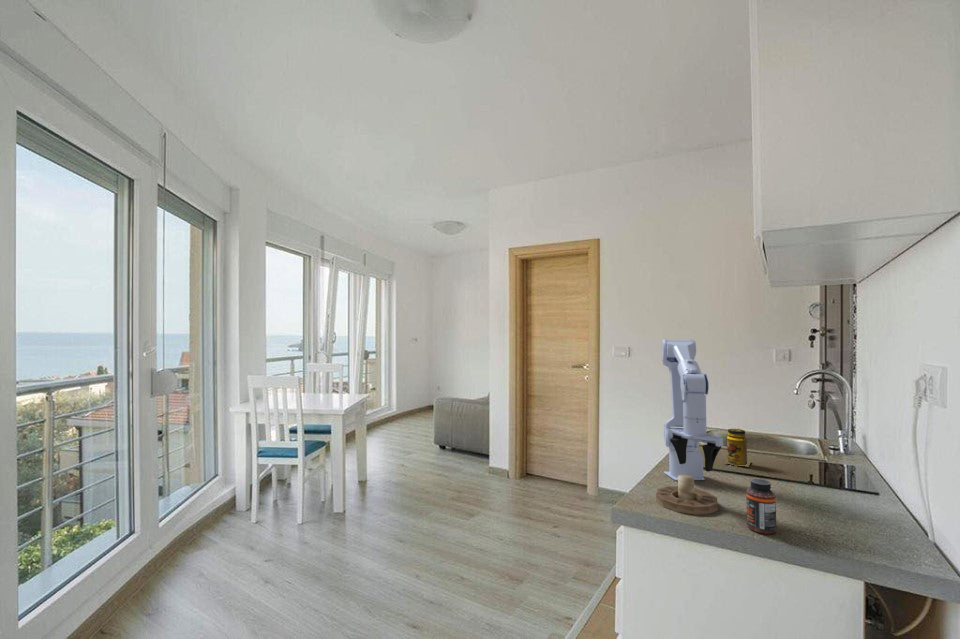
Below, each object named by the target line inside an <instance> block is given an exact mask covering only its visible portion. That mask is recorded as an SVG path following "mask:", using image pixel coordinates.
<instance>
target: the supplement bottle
mask: <svg viewBox="0 0 960 639" xmlns="http://www.w3.org/2000/svg"><path fill="white" fill-rule="evenodd" d="M771 484H772V483H771V481H769V480H766V479H761V478H753V479H751V480H750V487H748V488H747V489H746V494H745V495H746V496H745V497H746V498H745V499H746V501H745V503H746V504H745V505H746V525H747V528H748V529H749V530H751V531H753V532H755V533H758V534H763V535H773V534H775V533H776V532H777V498H776V497H777V496H776V493H775V492H774V491H773V490H771V489H772V486H771Z"/></svg>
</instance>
